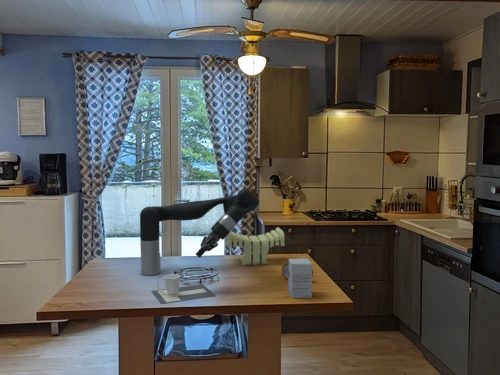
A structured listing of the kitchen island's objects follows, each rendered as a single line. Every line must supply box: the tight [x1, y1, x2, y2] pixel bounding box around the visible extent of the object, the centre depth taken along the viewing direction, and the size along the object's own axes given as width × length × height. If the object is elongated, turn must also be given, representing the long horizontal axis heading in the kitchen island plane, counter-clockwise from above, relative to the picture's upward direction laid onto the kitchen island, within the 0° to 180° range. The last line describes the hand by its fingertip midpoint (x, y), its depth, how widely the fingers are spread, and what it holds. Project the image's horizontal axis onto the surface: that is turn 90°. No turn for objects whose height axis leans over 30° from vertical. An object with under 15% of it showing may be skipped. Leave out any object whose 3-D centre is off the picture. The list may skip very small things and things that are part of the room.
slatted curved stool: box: [226, 226, 285, 266], centre depth 253 cm, size 30×16×18 cm, turn 98°
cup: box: [156, 273, 181, 296], centre depth 199 cm, size 7×10×8 cm
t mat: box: [150, 283, 217, 305], centre depth 201 cm, size 24×18×1 cm
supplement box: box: [287, 258, 313, 299], centre depth 199 cm, size 9×9×15 cm
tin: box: [281, 261, 314, 280], centre depth 221 cm, size 15×3×8 cm, turn 65°
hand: (197, 256), depth 202 cm, fingers closed
